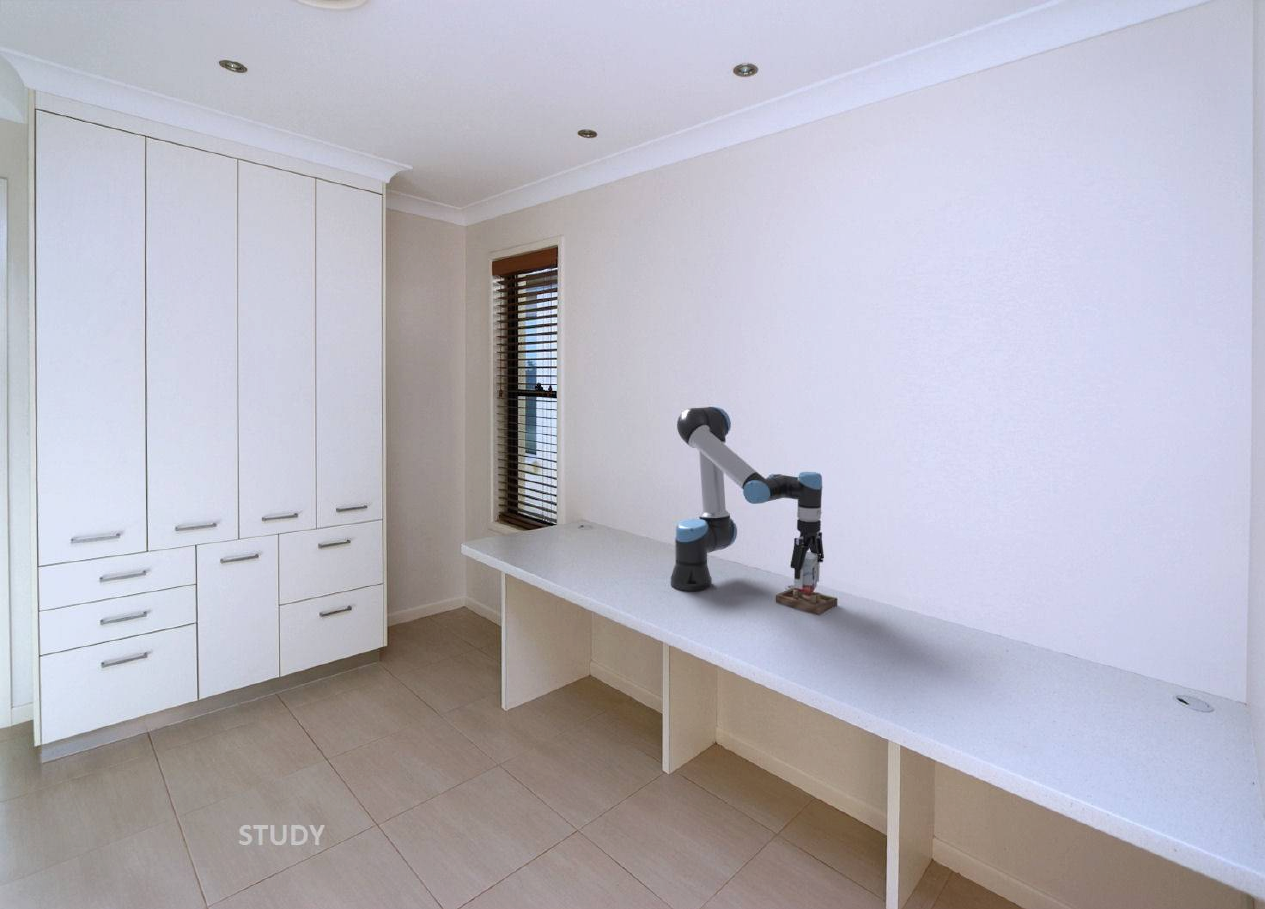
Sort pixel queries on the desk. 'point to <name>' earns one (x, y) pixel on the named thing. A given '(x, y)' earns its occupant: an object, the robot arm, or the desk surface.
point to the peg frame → (806, 601)
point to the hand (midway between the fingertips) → (806, 584)
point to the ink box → (809, 573)
